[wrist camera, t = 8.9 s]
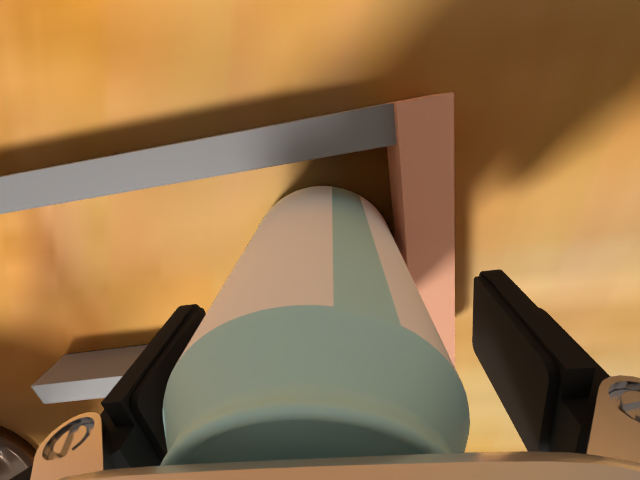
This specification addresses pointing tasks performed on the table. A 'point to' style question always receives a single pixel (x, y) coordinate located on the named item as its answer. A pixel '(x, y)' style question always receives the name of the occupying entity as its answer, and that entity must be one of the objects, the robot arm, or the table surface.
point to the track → (266, 151)
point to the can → (315, 348)
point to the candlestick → (14, 454)
